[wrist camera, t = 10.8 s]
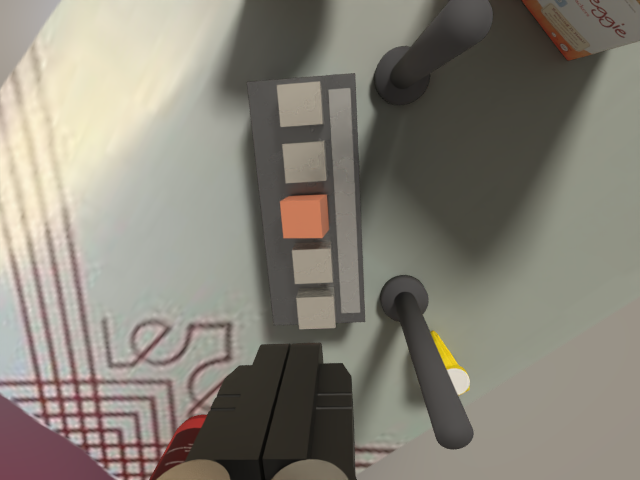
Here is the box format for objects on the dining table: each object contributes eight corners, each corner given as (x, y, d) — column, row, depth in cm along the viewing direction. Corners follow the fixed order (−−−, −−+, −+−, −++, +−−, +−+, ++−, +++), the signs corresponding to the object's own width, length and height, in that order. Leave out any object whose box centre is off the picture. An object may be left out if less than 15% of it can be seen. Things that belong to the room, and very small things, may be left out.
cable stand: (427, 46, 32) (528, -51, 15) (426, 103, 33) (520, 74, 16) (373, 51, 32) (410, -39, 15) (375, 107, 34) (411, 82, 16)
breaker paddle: (326, 194, 30) (319, 200, 28) (329, 229, 31) (322, 238, 28) (289, 195, 31) (279, 201, 28) (292, 230, 31) (283, 238, 29)
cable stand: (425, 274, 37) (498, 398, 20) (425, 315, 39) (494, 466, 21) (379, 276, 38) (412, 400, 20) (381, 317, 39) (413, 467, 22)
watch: (411, 331, 40) (420, 362, 34) (435, 318, 39) (448, 346, 33) (442, 377, 40) (456, 414, 34) (466, 364, 40) (485, 399, 34)
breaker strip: (353, 81, 33) (356, 69, 26) (362, 297, 38) (366, 333, 32) (260, 88, 34) (240, 78, 27) (282, 300, 39) (269, 336, 32)
